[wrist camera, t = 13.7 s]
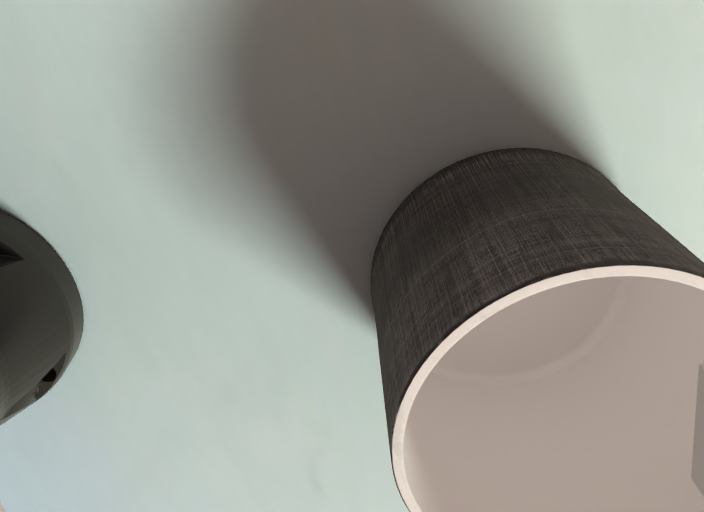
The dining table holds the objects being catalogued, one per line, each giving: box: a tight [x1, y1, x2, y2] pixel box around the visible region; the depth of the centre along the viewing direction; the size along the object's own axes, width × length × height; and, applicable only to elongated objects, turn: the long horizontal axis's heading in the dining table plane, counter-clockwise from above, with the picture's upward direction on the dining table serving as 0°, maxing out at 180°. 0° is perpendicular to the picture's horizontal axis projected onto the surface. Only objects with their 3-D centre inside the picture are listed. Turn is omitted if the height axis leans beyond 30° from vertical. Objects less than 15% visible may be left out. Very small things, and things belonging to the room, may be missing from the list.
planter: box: [371, 148, 704, 512], centre depth 36 cm, size 18×18×16 cm
